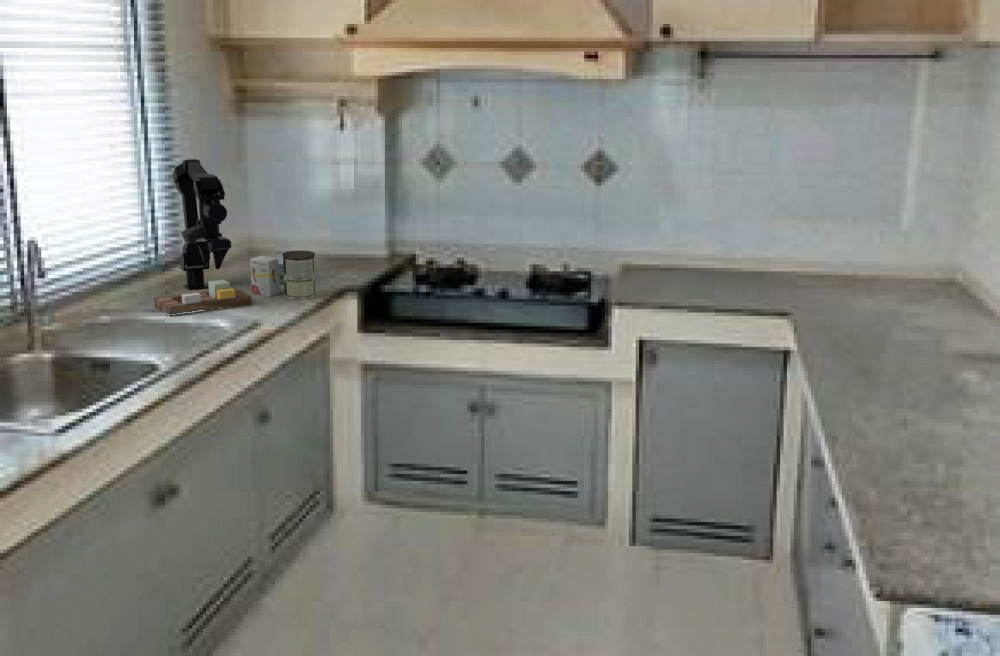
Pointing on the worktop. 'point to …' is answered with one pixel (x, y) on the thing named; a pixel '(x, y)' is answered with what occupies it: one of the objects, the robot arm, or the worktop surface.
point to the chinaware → (281, 271)
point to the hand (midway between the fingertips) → (211, 266)
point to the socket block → (202, 301)
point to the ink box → (265, 275)
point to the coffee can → (299, 274)
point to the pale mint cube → (217, 287)
